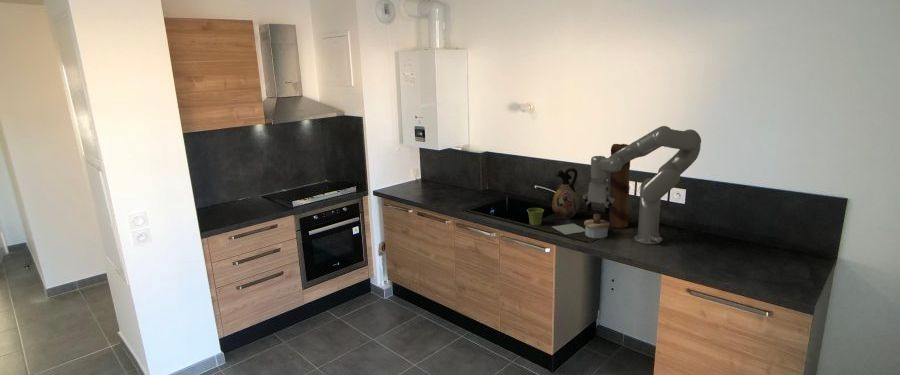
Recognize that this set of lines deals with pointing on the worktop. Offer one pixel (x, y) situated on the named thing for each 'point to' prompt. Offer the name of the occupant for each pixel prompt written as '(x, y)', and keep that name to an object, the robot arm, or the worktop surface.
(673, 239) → the worktop surface
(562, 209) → the ceramic jug
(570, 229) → the mat
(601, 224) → the lid
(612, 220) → the wafer roll
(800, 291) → the worktop surface
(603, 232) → the bowl
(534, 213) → the plant pot
